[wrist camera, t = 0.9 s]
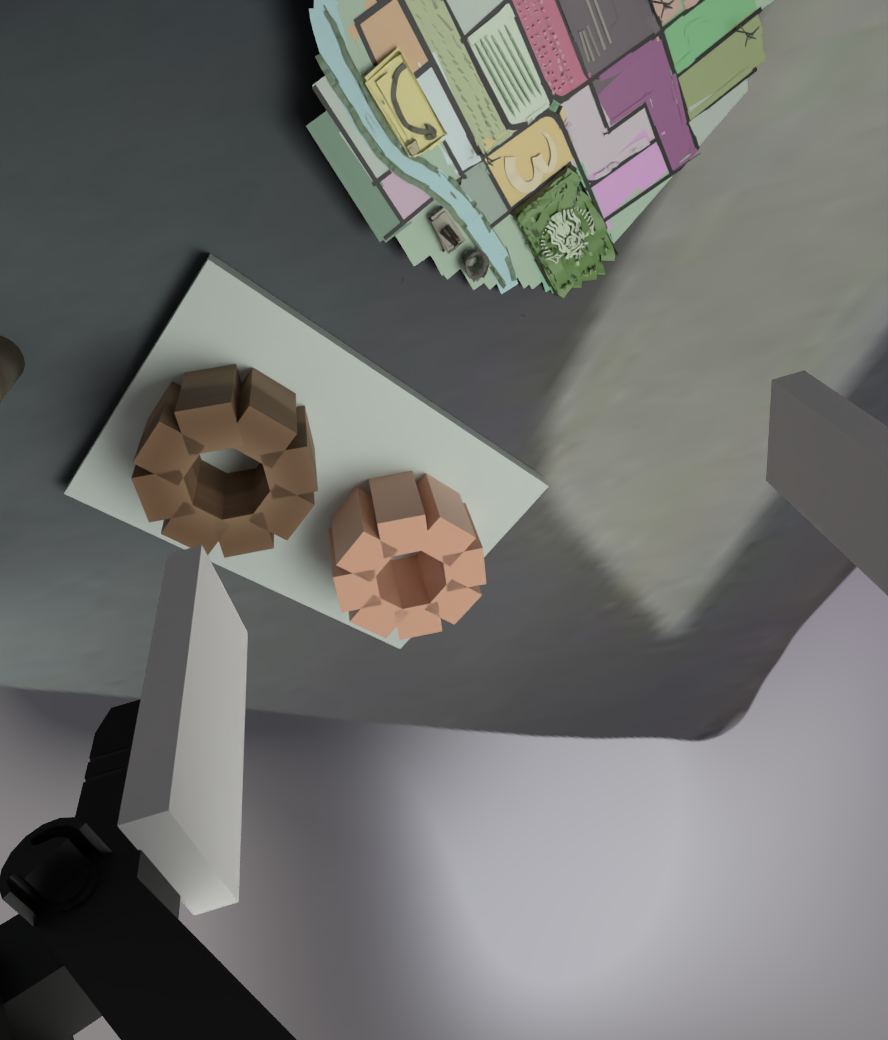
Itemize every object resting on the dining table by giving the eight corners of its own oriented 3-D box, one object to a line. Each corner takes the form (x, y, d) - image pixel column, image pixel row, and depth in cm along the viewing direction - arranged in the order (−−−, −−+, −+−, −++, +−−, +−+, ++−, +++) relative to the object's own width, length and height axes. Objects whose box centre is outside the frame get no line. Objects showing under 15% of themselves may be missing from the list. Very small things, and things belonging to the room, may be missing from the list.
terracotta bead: (304, 551, 47) (306, 601, 43) (385, 448, 44) (396, 491, 40) (413, 606, 51) (424, 656, 47) (494, 515, 48) (514, 560, 44)
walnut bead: (121, 460, 42) (103, 507, 38) (200, 335, 39) (191, 371, 35) (259, 529, 46) (257, 578, 42) (341, 421, 43) (347, 462, 39)
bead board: (69, 483, 43) (64, 493, 42) (209, 253, 38) (208, 259, 37) (398, 637, 54) (400, 649, 53) (543, 477, 49) (548, 486, 48)
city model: (541, 370, 47) (582, 415, 43) (187, 144, 35) (191, 173, 30) (837, -23, 39) (930, -21, 34) (511, -515, 26) (587, -620, 21)
